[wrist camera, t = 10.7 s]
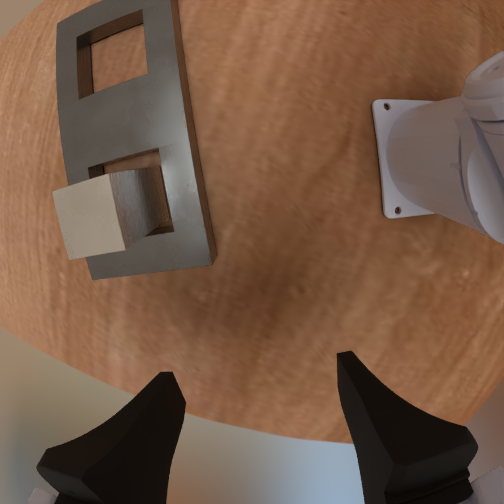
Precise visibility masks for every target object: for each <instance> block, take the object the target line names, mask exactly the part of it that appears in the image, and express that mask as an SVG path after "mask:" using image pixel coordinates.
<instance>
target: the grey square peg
mask: <svg viewBox="0 0 504 504" xmlns="http://www.w3.org/2000/svg"><path fill="white" fill-rule="evenodd" d="M52 193H53V198H54V202H55V207H56V211H57V216H58V220H59V224H60V228H61V232H62V236H63V240H64V243H65V247H66V250H67V254H68V257H69V260H70V259H76V258H82V257H88V256H93V255H99V254H105V253H111V252H117V251H123V250H126V249H128V248H129V247H130V246H132V245H133V244H134V243H136V242H137V241H139V240H140V239H141V238H143V237H144V236H145V235H147V234H148V233H150V232H151V231H152V230H154V229H155V228H157V227H158V226H160V225H161V224H162V223H164V222H165V221H167V220H168V219H170V217H169V212H168V207H167V202H166V197H165V192H164V187H163V182H162V176H161V171H160V166H155V167H148V168H141V169H134V170H127V171H121V172H115V173H109V174H105V175H102V176H99V177H95V178H92V179H89V180H86V181H83V182H80V183H77V184H74V185H71V186H68V187H65V188H62V189H59V190H56V191H53V192H52Z"/></svg>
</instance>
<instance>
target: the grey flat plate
mask: <svg viewBox="0 0 504 504" xmlns="http://www.w3.org/2000/svg"><path fill="white" fill-rule="evenodd" d="M141 23H144V36H145V47H146V58H147V67H148V74H146V75H143V76H140V77H137V78H134V79H131V80H128V81H125V82H123V83H120V84H117V85H114V86H112V87H109V88H106V89H104V90H101V91H99V92H96V93H94V94H93V89H92V76H91V56H90V44H91V43H93V42H96V41H98V40H100V39H102V38H105V37H107V36H109V35H112V34H114V33H117V32H119V31H122V30H124V29H127V28H130V27H132V26H135V25H138V24H141ZM56 82H57V101H58V114H59V125H60V134H61V142H62V150H63V157H64V163H65V169H66V175H67V181H68V186H71V185H74V184H77V183H80V182H83V181H86V180H89V179H92V178H95V177H99V176H102V175H104V173H103V167H102V166H103V165H107V164H110V163H113V162H117V161H120V160H124V159H127V158H131V157H135V156H138V155H142V154H146V153H150V152H154V151H158V150H159V154H160V160H161V165H162V171H163V176H164V182H165V187H166V192H167V198H168V203H169V208H170V213H171V217H172V222H173V226H171V227H165V228H159V229H154V230H152V231H151V232H150V233H148V234H147V235H145V236H144V237H143V238H141V239H140V240H139V241H137V242H136V243H134V244H133V245H132V246H130V247H129V248H128V249H126V250H123V251H117V252H111V253H105V254H99V255H93V256H88V257H86V260H87V264H88V267H89V270H90V274H91V277H92V280H96V279H105V278H113V277H121V276H129V275H137V274H145V273H153V272H162V271H170V270H177V269H185V268H193V267H201V266H209V265H212V264H213V262H214V260H215V258H216V256H217V251H216V246H215V241H214V236H213V231H212V225H211V220H210V215H209V209H208V204H207V198H206V193H205V187H204V182H203V176H202V170H201V164H200V158H199V152H198V146H197V140H196V134H195V128H194V122H193V115H192V109H191V102H190V95H189V88H188V82H187V74H186V67H185V60H184V52H183V45H182V37H181V29H180V21H179V12H178V3H177V0H102V1H100V2H97V3H95V4H93V5H91V6H89V7H87V8H85V9H83V10H81V11H79V12H77V13H75V14H73V15H71V16H70V17H68V18H66V19H64V20H62V21H61V22H59V23H57V38H56Z"/></svg>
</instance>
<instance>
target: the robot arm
mask: <svg viewBox="0 0 504 504" xmlns="http://www.w3.org/2000/svg"><path fill="white" fill-rule="evenodd" d="M384 104H387V105H388V107H389V108H388V110H385V109H384ZM372 112H373V118H374V125H375V132H376V139H377V147H378V156H379V165H380V175H381V187H382V201H383V213H384V215H385V216H386V217H388V218H391V219H393V218H401V217H410V216H418V215H427V214H439V215H441V216H443V217H446V218H448V219H450V220H453V221H455V222H457V223H459V224H462V225H464V226H466V227H468V228H470V229H473V230H475V231H477V232H479V233H481V234H483V235H485V236H487V237H489V238H491V239H494V240H496V241H498V242H500V243H502V244H504V50H503V51H501V52H499V53H497V54H496V55H494V56H492V57H491V58H489V59H487V60H486V61H484V62H483V63H482V64H480V65H479V66H478V67H476V68H475V69H474V70H473V71H472V72H471V73H470V74H469V75H468V76H467V78H466V80H465V85H464V91H463V93H462V95H461V96H458V97H453V98H449V99H445V100H441V101H423V100H394V99H378V100H375V101H374V102H373V103H372ZM396 207H399V212H398V213H395V208H396ZM337 378H338V391H339V396H340V401H341V406H342V409H343V412H344V415H345V418H346V421H347V424H348V427H349V430H350V434H351V437H352V440H353V443H354V446H355V450H356V453H357V458H358V463H359V469H360V475H361V481H362V487H363V495H364V502H365V504H504V470H503V468H502V467H501V466H498V467H496V468H495V469H493V470H491V471H489V472H488V473H486V474H484V475H482V476H480V477H479V478H477V479H475V480H474V481H473V482H471V483H470V482H469V480H468V477H469V476H470V473H469V471H468V468H467V467H468V466H469V464H470V463H471V461H472V460H473V458H474V457H475V454H476V453H477V450H478V445H477V442H476V440H475V439H474V437H473V435H472V434H471V433H470V431H469V430H468V429H467V427H465V426H461V425H458V424H455V423H451V422H448V421H445V420H442V419H440V418H437V417H435V416H432V415H430V414H428V413H426V412H424V411H422V410H420V409H418V408H417V407H415V406H413V405H412V404H410V403H408V402H407V401H405V400H404V399H402V398H401V397H399V396H398V395H397V394H395V393H394V392H393V391H391V390H390V389H389V388H388V387H387V386H385V385H384V384H383V383H382V382H381V381H380V380H379V379H378V378H377V377H376V376H374V375H373V374H372V373H371V372H370V371H369V370H368V369H367V368H366V366H365V365H364V364H363V363H362V362H361V361H360V360H359V359H358V358H357V356H356V355H355V354H354V353H353V352H352V351H346V352H341V353H337ZM185 407H186V401H185V399H184V397H183V395H182V392H181V390H180V388H179V386H178V383H177V381H176V379H175V376H174V374H173V372H160V373H159V374H158V375H157V376H156V377H155V378H154V379H152V380H151V381H150V382H149V384H148V385H147V386H146V387H145V388H144V389H143V390H141V391H140V392H139V393H138V394H137V395H136V396H135V397H134V398H133V399H132V400H131V401H130V402H129V403H128V404H127V405H126V406H124V407H123V408H122V409H121V410H120V411H119V412H117V413H116V414H115V415H114V416H112V417H111V418H110V419H108V420H107V421H106V422H104V423H103V424H101V425H100V426H98V427H96V428H95V429H93V430H91V431H89V432H88V433H86V434H84V435H82V436H80V437H78V438H76V439H74V440H71V441H69V442H67V443H64V444H61V445H58V446H55V447H52V448H48V449H47V450H46V451H45V453H44V455H43V456H42V458H41V460H40V462H39V463H38V465H37V471H38V472H39V474H40V475H41V476H42V477H43V478H44V479H45V480H46V481H47V482H48V483H49V484H50V485H51V486H52V487H53V488H54V489H56V490H57V491H58V492H59V495H58V497H56V496H55V495H53V494H51V493H49V492H47V491H45V490H42V489H40V488H38V487H35V489H34V491H33V493H32V495H31V497H30V498H29V501H28V503H27V504H166V498H167V488H168V480H169V474H170V467H171V463H172V459H173V455H174V452H175V448H176V445H177V442H178V439H179V435H180V432H181V428H182V424H183V421H184V414H185Z"/></svg>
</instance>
